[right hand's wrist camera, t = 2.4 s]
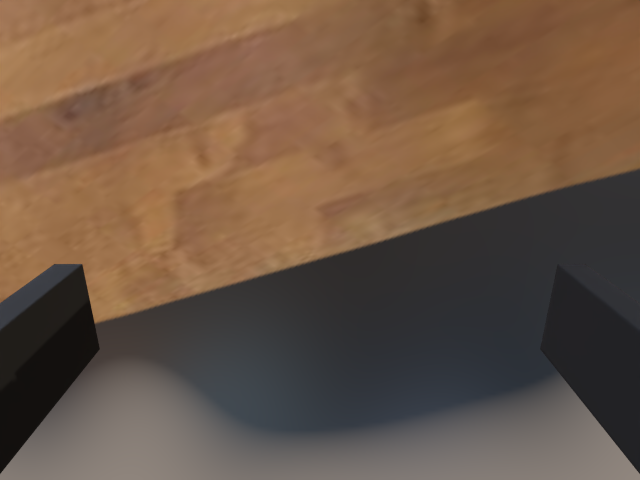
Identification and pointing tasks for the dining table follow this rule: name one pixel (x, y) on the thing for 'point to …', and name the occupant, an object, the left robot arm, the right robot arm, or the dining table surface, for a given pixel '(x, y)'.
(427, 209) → the dining table surface
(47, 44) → the dining table surface
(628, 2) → the dining table surface
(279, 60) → the dining table surface
